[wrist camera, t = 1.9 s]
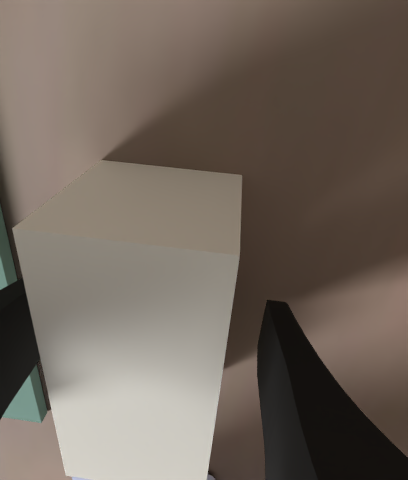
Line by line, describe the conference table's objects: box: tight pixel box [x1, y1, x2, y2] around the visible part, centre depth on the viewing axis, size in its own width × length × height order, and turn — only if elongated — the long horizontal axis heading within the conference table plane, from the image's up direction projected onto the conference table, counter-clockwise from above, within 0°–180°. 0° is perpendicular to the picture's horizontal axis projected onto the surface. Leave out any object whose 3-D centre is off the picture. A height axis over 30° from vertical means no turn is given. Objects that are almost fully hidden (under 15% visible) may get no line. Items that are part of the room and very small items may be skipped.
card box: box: [12, 160, 242, 480], centre depth 11 cm, size 9×4×5 cm, turn 176°
